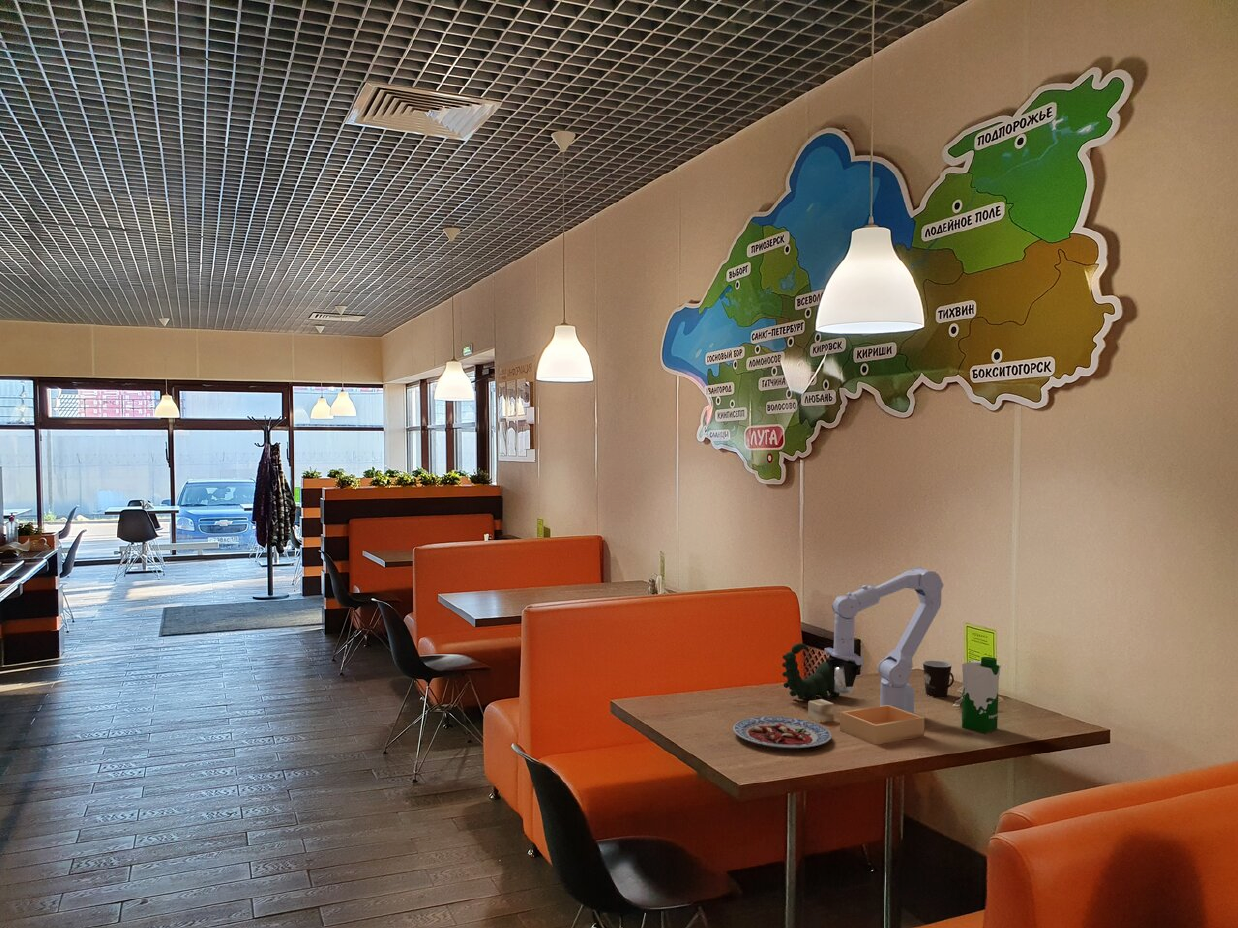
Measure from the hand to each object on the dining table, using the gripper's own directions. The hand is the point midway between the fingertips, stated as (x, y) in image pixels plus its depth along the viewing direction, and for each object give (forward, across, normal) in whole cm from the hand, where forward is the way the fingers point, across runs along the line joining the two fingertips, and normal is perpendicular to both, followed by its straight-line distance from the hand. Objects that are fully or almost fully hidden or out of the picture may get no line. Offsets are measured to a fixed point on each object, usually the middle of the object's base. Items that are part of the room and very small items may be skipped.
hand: (842, 684), depth 265 cm
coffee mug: (+9, -3, +42) cm, 43 cm away
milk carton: (+9, +26, +27) cm, 39 cm away
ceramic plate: (+9, +10, -30) cm, 33 cm away
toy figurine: (+9, -17, +5) cm, 20 cm away
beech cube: (+9, +1, -9) cm, 13 cm away
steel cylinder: (+2, 0, 0) cm, 2 cm away
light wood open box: (+9, +18, -2) cm, 20 cm away
